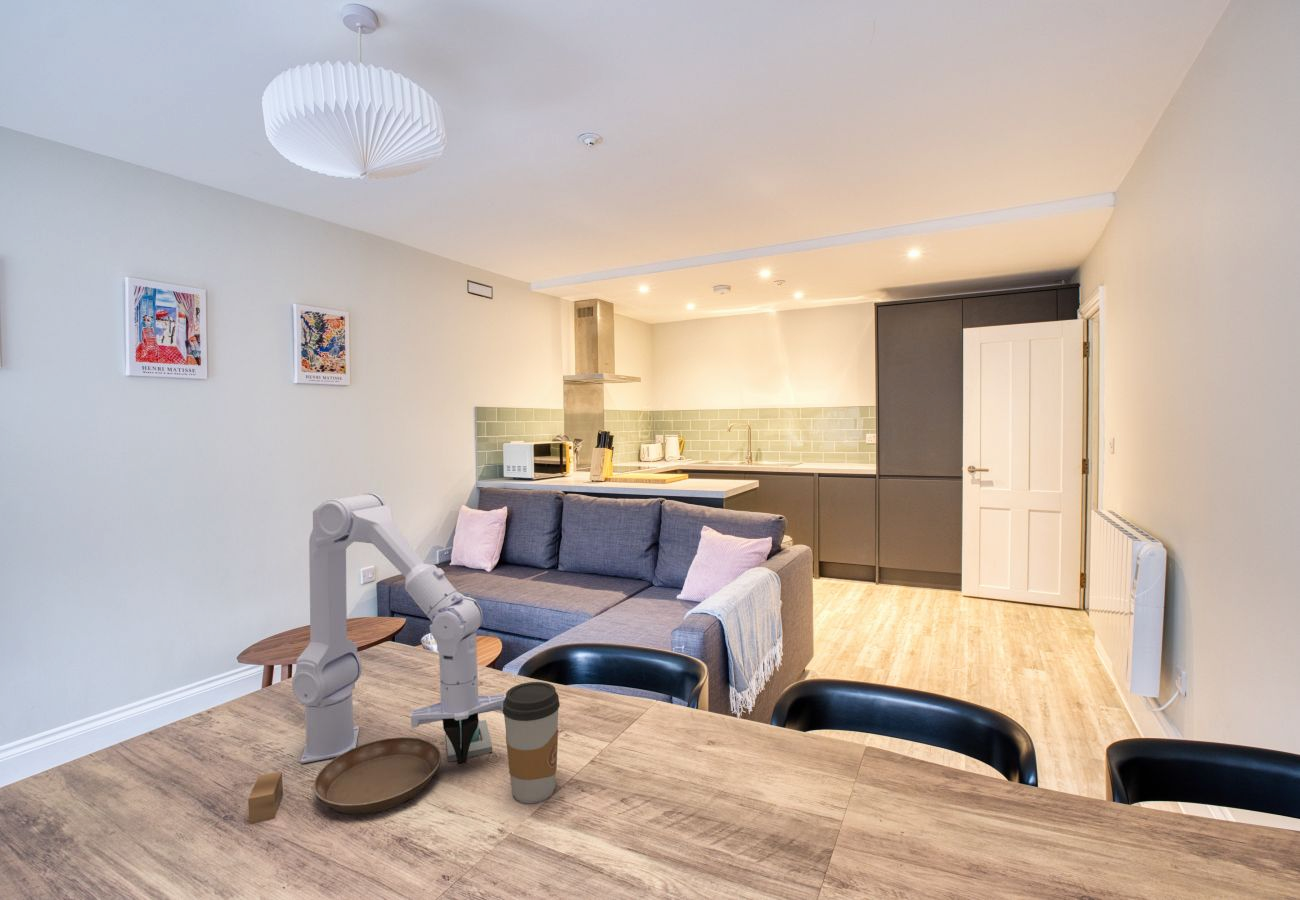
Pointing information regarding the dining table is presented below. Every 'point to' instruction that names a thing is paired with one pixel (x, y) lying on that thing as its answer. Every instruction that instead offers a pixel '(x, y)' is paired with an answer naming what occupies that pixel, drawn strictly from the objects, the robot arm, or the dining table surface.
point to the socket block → (473, 744)
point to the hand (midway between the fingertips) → (461, 760)
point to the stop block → (265, 797)
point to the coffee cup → (532, 739)
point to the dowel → (475, 736)
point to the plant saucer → (377, 775)
